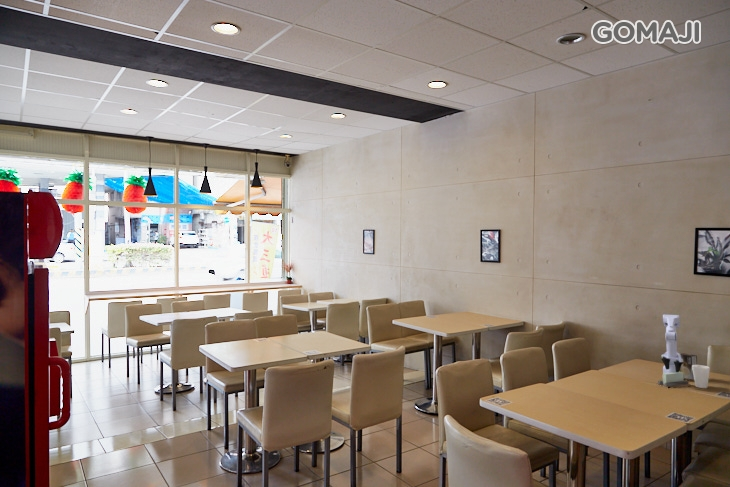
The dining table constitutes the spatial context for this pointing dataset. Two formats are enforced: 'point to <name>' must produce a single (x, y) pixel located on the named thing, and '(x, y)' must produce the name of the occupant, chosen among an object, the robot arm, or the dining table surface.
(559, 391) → the dining table surface
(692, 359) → the coffee box
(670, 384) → the bottom track
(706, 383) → the foam cup
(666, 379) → the door panel
